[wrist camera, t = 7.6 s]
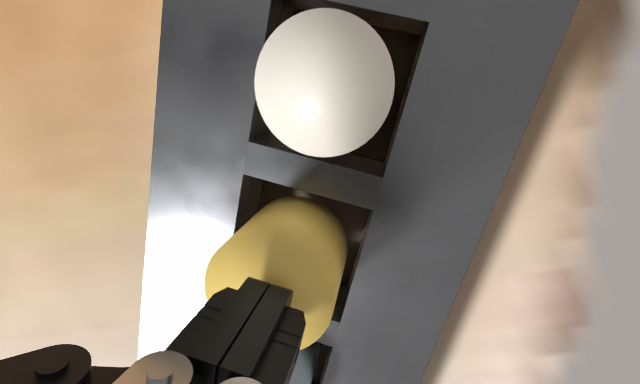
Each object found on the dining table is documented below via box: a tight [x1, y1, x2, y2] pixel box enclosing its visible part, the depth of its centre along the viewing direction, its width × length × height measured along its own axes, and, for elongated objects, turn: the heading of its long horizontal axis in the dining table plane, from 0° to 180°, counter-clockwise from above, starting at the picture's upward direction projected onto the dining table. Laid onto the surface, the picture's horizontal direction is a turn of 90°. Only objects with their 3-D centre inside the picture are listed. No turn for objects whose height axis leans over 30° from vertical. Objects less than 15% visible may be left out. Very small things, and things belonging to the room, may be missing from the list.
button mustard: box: [204, 196, 348, 350], centre depth 14 cm, size 5×5×4 cm
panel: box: [138, 0, 579, 384], centre depth 16 cm, size 14×24×3 cm, turn 167°
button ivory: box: [254, 8, 395, 157], centre depth 13 cm, size 5×5×4 cm
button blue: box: [289, 342, 320, 384], centre depth 18 cm, size 5×5×4 cm
